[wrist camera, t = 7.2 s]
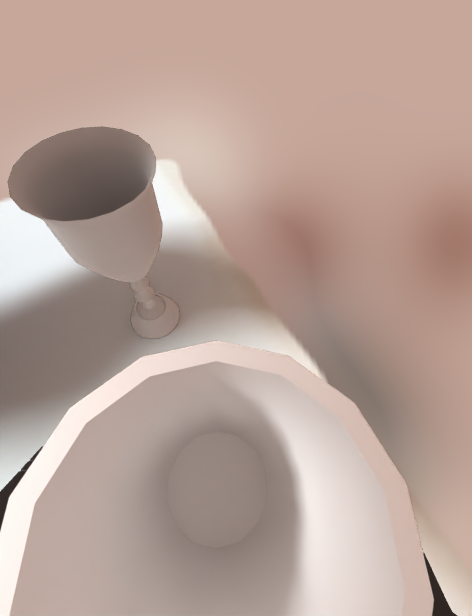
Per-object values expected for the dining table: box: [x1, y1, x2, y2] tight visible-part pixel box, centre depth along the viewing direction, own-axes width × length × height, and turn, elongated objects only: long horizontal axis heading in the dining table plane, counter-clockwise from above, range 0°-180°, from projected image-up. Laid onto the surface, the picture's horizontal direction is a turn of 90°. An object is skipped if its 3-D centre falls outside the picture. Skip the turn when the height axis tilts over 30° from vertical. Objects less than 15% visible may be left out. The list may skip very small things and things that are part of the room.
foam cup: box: [0, 340, 434, 616], centre depth 12 cm, size 10×9×13 cm
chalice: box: [8, 127, 180, 339], centre depth 23 cm, size 7×7×18 cm
